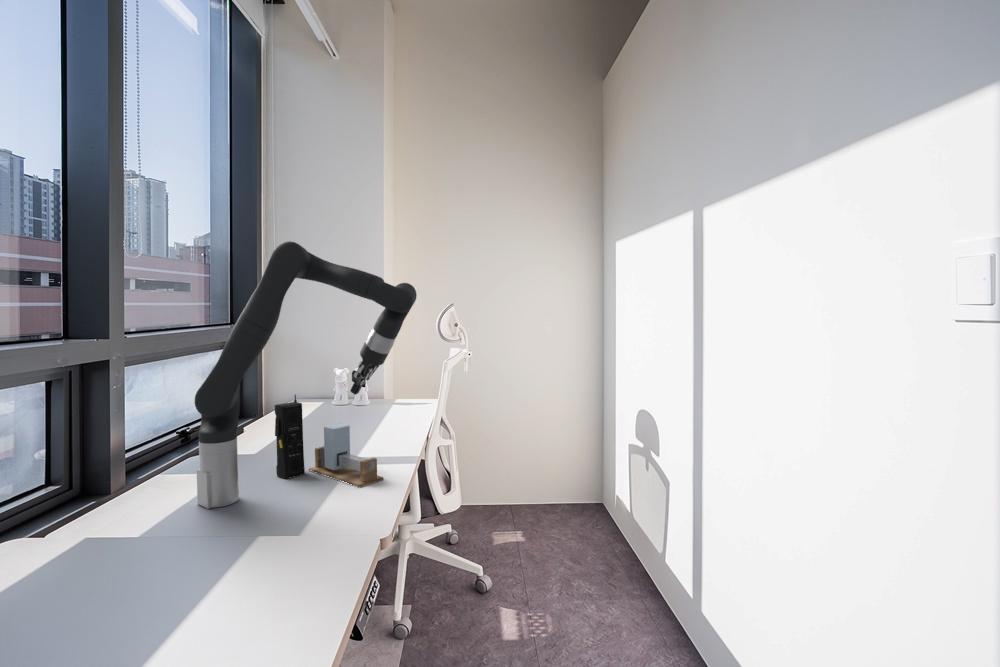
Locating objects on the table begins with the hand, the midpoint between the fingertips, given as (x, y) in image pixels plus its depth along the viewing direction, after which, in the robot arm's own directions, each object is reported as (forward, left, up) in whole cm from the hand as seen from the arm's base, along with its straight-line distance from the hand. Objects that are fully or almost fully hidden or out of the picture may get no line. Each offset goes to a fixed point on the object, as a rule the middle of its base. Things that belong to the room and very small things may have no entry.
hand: (354, 392), depth 162 cm
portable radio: (-9, +21, -27) cm, 36 cm away
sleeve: (+2, +12, -25) cm, 28 cm away
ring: (+2, +15, -25) cm, 30 cm away
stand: (+2, +8, -27) cm, 28 cm away
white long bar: (+2, +8, -24) cm, 25 cm away
